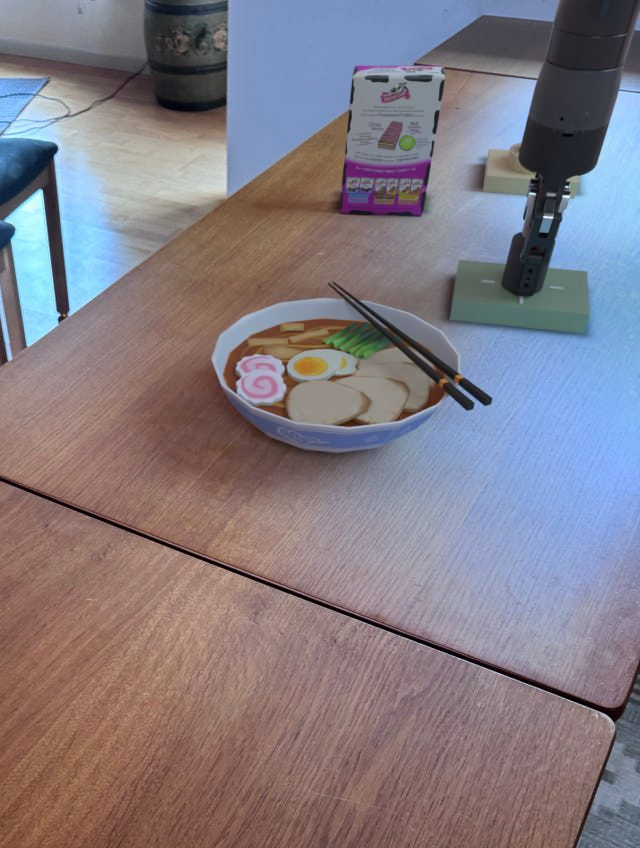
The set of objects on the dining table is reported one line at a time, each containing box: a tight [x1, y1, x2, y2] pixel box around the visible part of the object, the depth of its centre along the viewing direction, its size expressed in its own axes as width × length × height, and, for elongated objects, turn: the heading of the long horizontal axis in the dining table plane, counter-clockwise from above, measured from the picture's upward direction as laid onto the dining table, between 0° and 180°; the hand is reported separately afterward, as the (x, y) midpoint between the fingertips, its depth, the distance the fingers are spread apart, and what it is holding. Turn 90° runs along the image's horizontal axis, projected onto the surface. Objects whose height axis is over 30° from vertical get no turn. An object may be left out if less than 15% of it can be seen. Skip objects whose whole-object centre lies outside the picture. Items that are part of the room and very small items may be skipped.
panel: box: [449, 259, 591, 335], centre depth 101 cm, size 14×10×3 cm
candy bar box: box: [338, 65, 446, 217], centre depth 116 cm, size 11×5×16 cm, turn 80°
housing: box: [482, 142, 580, 200], centre depth 125 cm, size 12×10×4 cm
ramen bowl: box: [210, 281, 494, 454], centre depth 86 cm, size 25×23×8 cm
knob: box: [501, 231, 557, 293], centre depth 98 cm, size 4×4×5 cm
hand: (523, 282), depth 100 cm, fingers closed on knob, 4 cm apart
